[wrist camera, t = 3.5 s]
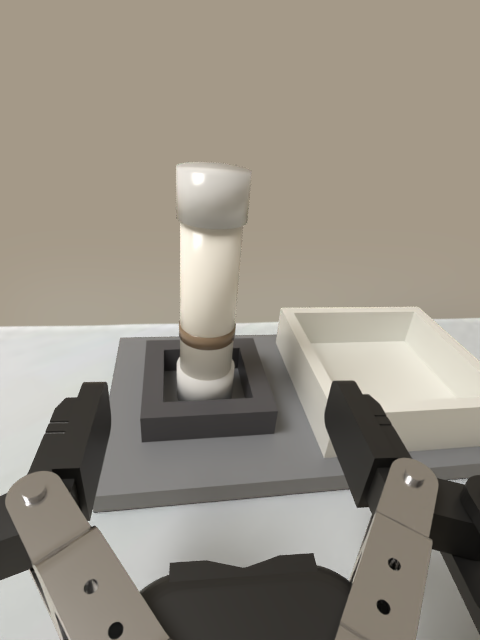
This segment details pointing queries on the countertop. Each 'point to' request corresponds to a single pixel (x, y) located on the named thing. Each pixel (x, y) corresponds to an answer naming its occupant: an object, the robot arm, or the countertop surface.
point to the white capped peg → (209, 274)
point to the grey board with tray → (286, 408)
